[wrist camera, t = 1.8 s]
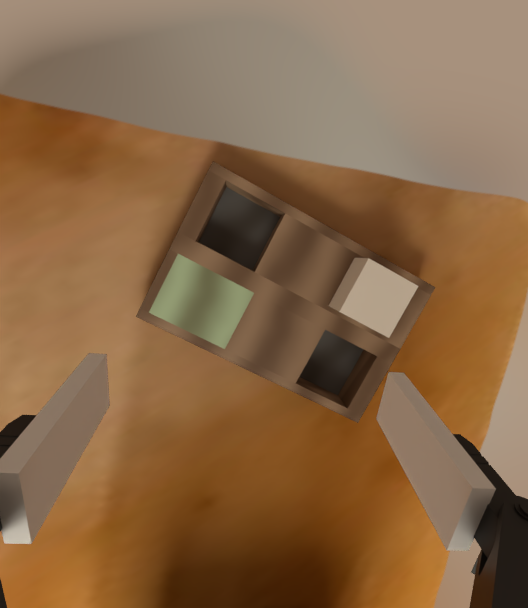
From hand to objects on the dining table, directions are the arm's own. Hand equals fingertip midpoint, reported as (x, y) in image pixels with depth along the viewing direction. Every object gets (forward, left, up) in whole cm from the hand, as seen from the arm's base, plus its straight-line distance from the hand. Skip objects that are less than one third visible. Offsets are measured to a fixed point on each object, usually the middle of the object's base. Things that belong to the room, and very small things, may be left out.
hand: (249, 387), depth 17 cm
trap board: (-5, -4, -26) cm, 27 cm away
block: (-12, -8, -22) cm, 26 cm away
